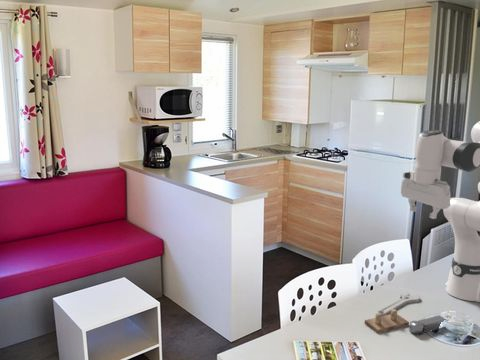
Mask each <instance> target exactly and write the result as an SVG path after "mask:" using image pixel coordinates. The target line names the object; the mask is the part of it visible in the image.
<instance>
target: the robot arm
mask: <svg viewBox="0 0 480 360" xmlns="http://www.w3.org/2000/svg"><path fill="white" fill-rule="evenodd" d="M470 137H471V140H472V141H462V140H455V139H449V138H448V137H446V136H445V135H444V133H443V131H441V130H439V129H438V130H436V129H432V130H429V129H428V130H425V131H422V132H420V134H419V135H418V138H417V142H416V149H415V164H414V168H413V170H410V171H404V172H402V177H403V178H402V181H401V187H400V194H401V197H402V198H403V197H404V198H406V199H408V200H407V201H408V204H409V211H410V212H413V213H416V212H417V209H418V207H417V205H416V204H415V203H416V202H419V203H422V204H425V205H428V206H431V207H432V212H430V213H429V218H430V219H431V220H434V219H435V220H436V219H437V215H438V213H439V212H440V211H441V210H443V212H442V213H443V216H444V217H445V219H446V220H447V221H448V222H449V225H450V227H451V229H452V232H453V236H454V254H453V257H452V261H451V268H450V269H449V274H448V278H447V281H445V286H446V287H445V291H446V293H447V294H448V295H450V296H452V297H453V298H454V297H455V298H456V299H460V300H463V301H469V302H477V303H480V235H479V233H478V232H480V200H478V201H476V200H472V199H469V198H465V197H451V186H450V184H449V183H448V182H447V181H443V180H441V173H442V167H447V168H452V169H455V170H460V171H464V172H467V173H472V172H473V171H475V170H477V169H478V168H479V167H480V120H479V121H477V122H476V123H475V124H474V125H473V126H472V128H471V132H470ZM477 191H478V193H479V194H480V181H479V182H478V183H477Z"/></svg>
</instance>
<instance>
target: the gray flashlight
mask: <svg viewBox="0 0 480 360" xmlns="http://www.w3.org/2000/svg"><path fill="white" fill-rule="evenodd" d="M444 320H446V321H447V318H444V317H443V316H441V315H436V316H432V317H427V318H422V319H420V320H411V321H410V322H409V333H410V334H412V335H414V336H415V335H416V336H422V335H423V334H424V333H425V334H426V333H429V332H431V330H433V331H435V329H437V328H439V326H440V324H441V322H443V321H444ZM437 330H438V329H437Z"/></svg>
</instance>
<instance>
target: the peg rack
mask: <svg viewBox="0 0 480 360" xmlns="http://www.w3.org/2000/svg"><path fill="white" fill-rule="evenodd" d="M364 324H365V325H366V326H367V327H368V328H370V329H372V330H373V331H374V332H375V331H376V332H375V333H377V334H378V333H379V334H380V333H382V332H386V331H390V330H395V329H398V328H403V327H406V326H410V322H409V321H408V320H407V319H405V318H404V317H402V315H401V316H400V315H399V314H398V310H397V309H396V310H395V309H392V310H391V312H390V313H389V314H387V315H385V316H382V313H378V312H376V313H375V317H373V318H368V319H364Z"/></svg>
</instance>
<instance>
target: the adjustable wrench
mask: <svg viewBox="0 0 480 360" xmlns="http://www.w3.org/2000/svg"><path fill="white" fill-rule="evenodd" d="M420 300H421V296H420V295H419V294H416V296H411V295H410V292H405V293H404V292H403V293H402V294H400V299H399V300H397V301H395V302H393V303H391V304H389V305H387V306H385V307H383V308H381V309H379V310H378V311H377V313H381V314H382V316H385V315H389V314H391V310H392V309H395V310H397V309H399V308H400V307H401V308H402V306H404V305H407V304H410V303H417V302H418V303H419V302H420Z"/></svg>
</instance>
